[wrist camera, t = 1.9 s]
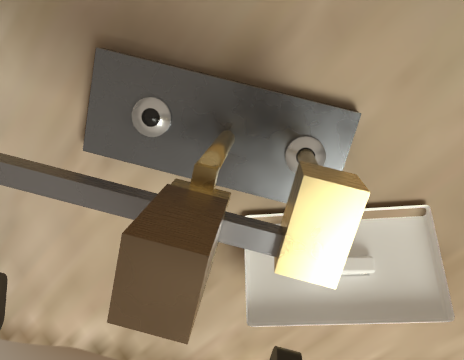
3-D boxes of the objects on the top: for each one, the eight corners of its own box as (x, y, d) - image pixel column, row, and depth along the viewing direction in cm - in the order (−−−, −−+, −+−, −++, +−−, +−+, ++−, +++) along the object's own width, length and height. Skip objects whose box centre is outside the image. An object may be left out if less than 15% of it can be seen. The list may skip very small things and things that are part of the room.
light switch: (251, 328, 33) (436, 323, 31) (245, 326, 28) (460, 320, 27) (248, 228, 36) (415, 219, 34) (242, 212, 32) (433, 201, 30)
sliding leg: (248, 135, 29) (217, 220, 13) (232, 197, 30) (187, 344, 14) (208, 125, 29) (128, 197, 13) (195, 187, 30) (106, 322, 14)
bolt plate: (357, 111, 30) (362, 114, 28) (326, 208, 32) (328, 215, 31) (102, 48, 30) (93, 47, 29) (89, 147, 33) (80, 151, 31)
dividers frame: (331, 142, 29) (370, 192, 17) (311, 205, 30) (335, 289, 19) (89, 81, 30) (-30, 90, 18) (81, 145, 31) (-34, 191, 19)
